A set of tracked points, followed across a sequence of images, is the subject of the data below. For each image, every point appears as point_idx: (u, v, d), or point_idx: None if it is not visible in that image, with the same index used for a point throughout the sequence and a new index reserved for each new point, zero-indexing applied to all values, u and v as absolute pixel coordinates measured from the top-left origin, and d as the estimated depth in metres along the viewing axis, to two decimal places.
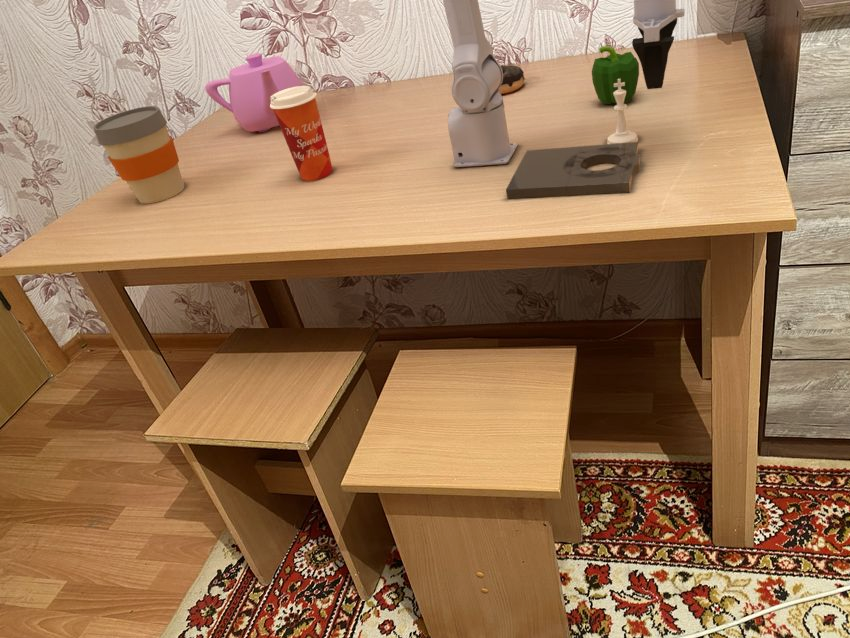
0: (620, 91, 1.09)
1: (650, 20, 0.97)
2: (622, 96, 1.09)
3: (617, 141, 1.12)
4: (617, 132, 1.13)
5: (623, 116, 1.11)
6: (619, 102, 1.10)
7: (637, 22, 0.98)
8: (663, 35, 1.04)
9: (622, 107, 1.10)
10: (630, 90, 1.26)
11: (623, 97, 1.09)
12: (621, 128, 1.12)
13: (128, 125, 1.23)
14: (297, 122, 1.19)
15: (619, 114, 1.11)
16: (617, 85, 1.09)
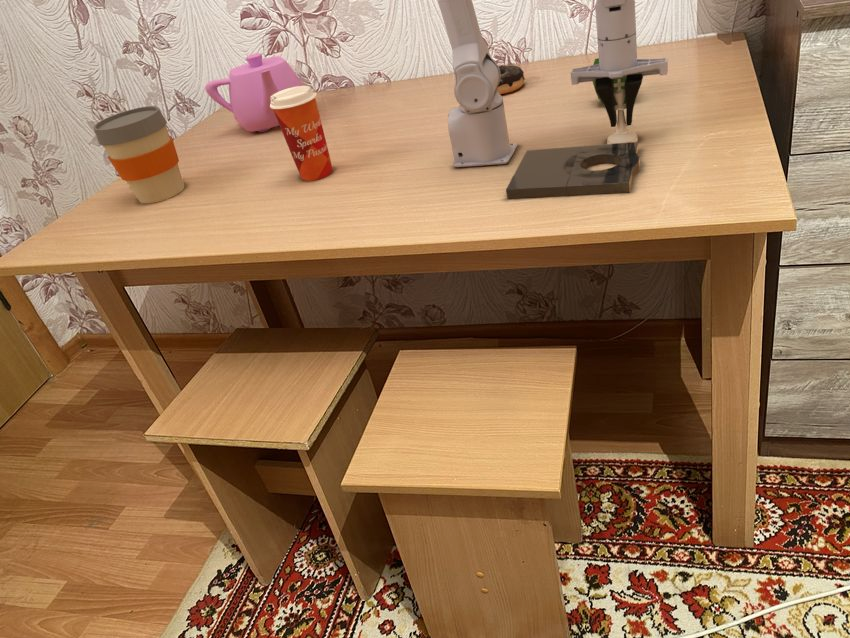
0: (620, 91, 1.09)
1: None
2: (622, 96, 1.09)
3: (617, 141, 1.12)
4: (617, 132, 1.13)
5: (623, 116, 1.11)
6: (619, 102, 1.10)
7: None
8: None
9: (622, 107, 1.10)
10: None
11: (623, 97, 1.09)
12: (621, 128, 1.12)
13: (128, 125, 1.23)
14: (297, 122, 1.19)
15: (619, 114, 1.11)
16: (617, 85, 1.09)
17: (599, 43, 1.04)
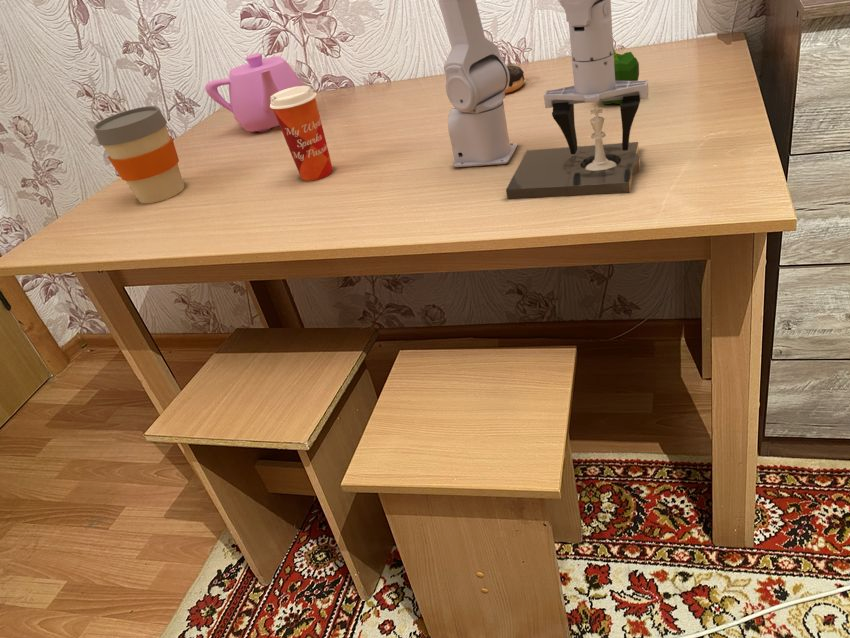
0: (597, 118, 1.01)
1: (574, 89, 1.00)
2: (599, 124, 1.01)
3: None
4: (595, 162, 1.05)
5: (601, 145, 1.03)
6: (596, 130, 1.02)
7: None
8: None
9: (600, 135, 1.02)
10: None
11: (601, 125, 1.01)
12: (599, 157, 1.04)
13: (128, 125, 1.23)
14: (297, 122, 1.19)
15: (597, 143, 1.03)
16: (594, 112, 1.01)
17: (574, 64, 0.96)
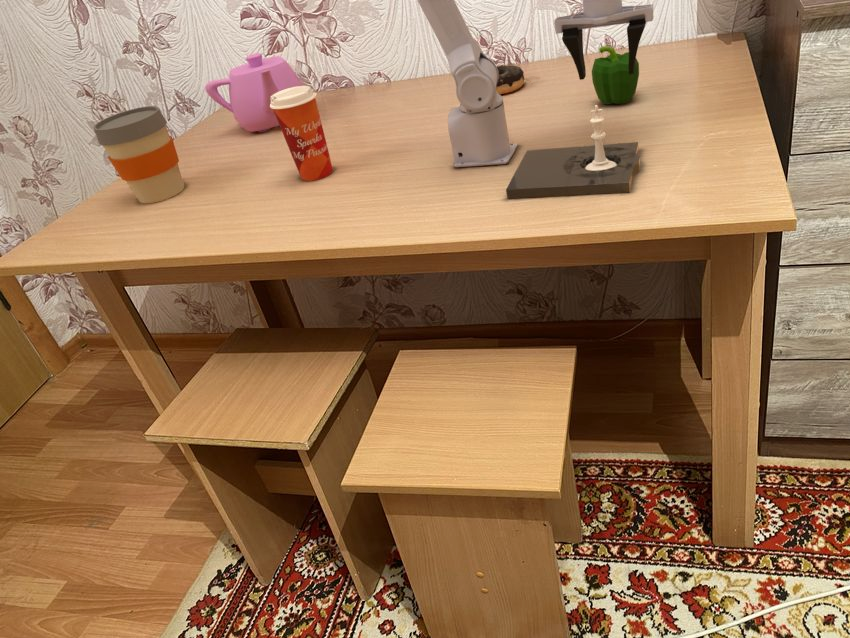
0: (597, 118, 1.01)
1: (583, 15, 1.06)
2: (599, 124, 1.01)
3: None
4: (595, 162, 1.05)
5: (601, 145, 1.03)
6: (596, 130, 1.02)
7: None
8: None
9: (600, 135, 1.02)
10: (630, 90, 1.26)
11: (601, 125, 1.01)
12: (599, 157, 1.04)
13: (128, 125, 1.23)
14: (297, 122, 1.19)
15: (597, 143, 1.03)
16: (594, 112, 1.01)
17: None
